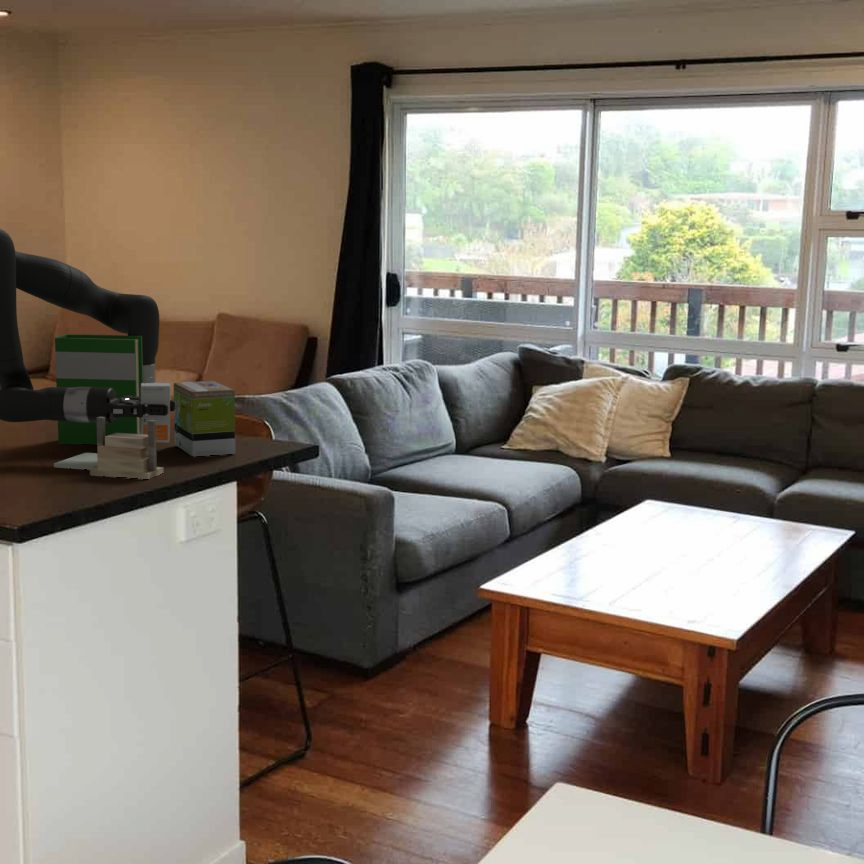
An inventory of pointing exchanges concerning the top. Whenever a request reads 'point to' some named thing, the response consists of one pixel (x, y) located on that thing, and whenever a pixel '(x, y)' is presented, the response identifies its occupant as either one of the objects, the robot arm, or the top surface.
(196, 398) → the tea box
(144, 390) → the skincare box
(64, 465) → the sage mat
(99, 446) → the offcut rack
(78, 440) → the hardback book
